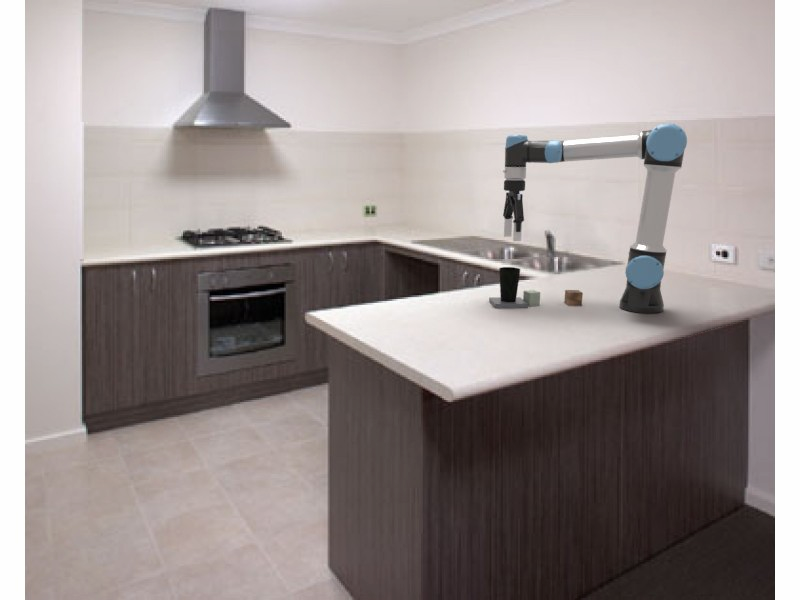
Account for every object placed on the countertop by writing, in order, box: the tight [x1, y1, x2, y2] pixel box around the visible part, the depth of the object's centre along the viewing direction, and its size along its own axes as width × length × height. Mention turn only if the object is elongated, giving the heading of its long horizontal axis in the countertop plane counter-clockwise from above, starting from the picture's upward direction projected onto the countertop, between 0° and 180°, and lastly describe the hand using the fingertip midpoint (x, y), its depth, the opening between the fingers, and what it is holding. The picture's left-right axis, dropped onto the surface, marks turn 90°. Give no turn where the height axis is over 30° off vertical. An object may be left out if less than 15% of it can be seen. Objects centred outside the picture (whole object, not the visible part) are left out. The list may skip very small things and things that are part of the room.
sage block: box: [522, 289, 541, 307], centre depth 237 cm, size 4×4×5 cm
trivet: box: [488, 296, 529, 309], centre depth 237 cm, size 12×11×2 cm
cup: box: [499, 266, 521, 302], centre depth 235 cm, size 8×8×12 cm
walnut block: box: [563, 289, 583, 307], centre depth 238 cm, size 5×5×5 cm
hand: (512, 238), depth 231 cm, fingers open, 13 cm apart
